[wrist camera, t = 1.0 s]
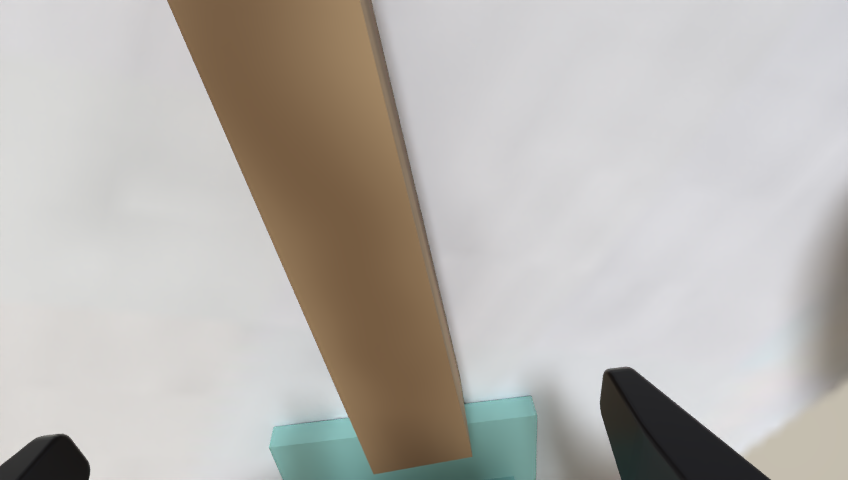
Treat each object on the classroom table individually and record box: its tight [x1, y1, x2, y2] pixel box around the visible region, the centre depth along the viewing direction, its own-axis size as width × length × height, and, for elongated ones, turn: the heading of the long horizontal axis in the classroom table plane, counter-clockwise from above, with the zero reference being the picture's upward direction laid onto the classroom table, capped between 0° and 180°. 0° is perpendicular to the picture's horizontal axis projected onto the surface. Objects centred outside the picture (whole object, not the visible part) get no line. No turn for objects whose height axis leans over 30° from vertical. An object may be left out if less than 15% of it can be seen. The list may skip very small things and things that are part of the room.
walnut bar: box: [167, 0, 472, 474], centre depth 14 cm, size 4×18×4 cm, turn 11°
